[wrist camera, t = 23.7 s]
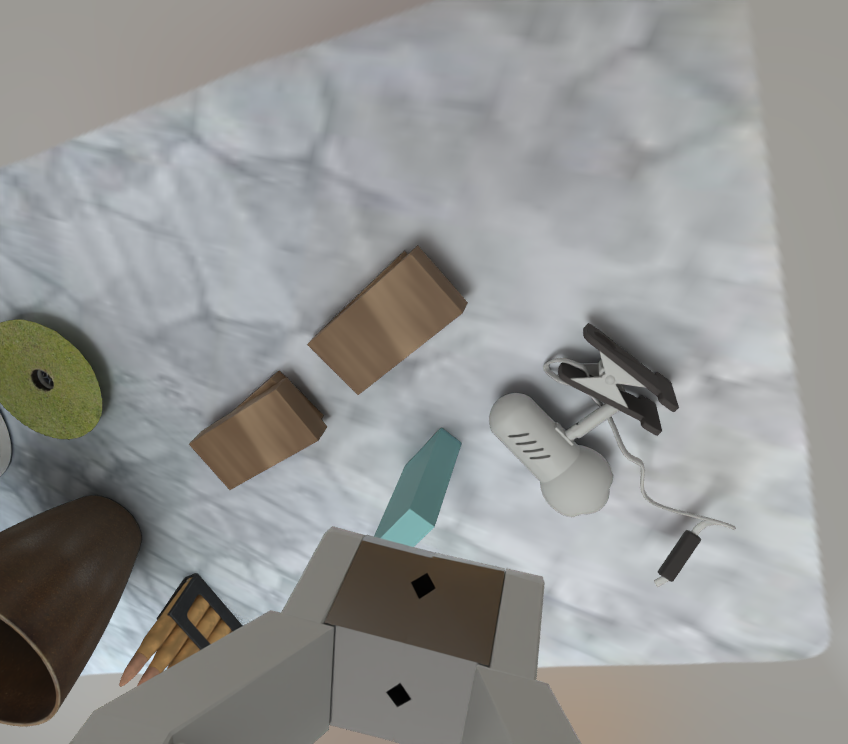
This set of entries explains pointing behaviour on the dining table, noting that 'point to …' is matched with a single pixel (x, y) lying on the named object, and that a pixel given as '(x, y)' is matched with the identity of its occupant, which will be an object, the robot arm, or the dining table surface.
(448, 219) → the dining table surface
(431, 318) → the walnut tile
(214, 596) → the ammunition clip
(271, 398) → the walnut tile
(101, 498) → the plant pot
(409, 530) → the teal tile
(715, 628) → the dining table surface
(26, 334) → the green disc
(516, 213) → the dining table surface
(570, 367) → the clip-on lamp
